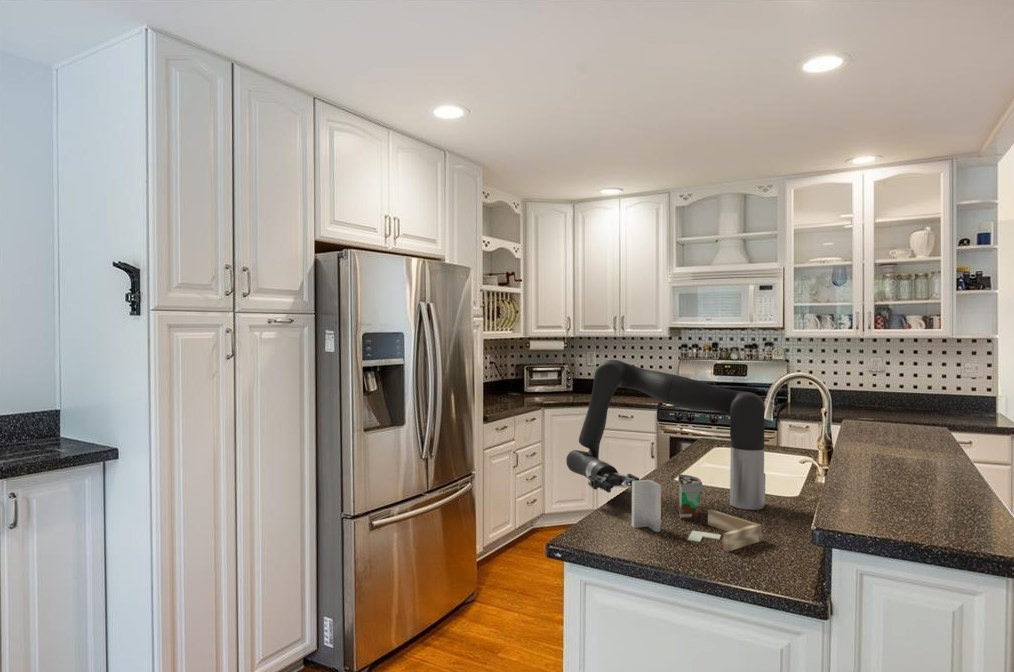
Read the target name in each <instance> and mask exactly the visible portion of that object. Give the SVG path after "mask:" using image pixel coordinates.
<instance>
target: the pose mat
mask: <svg viewBox="0 0 1014 672" xmlns="http://www.w3.org/2000/svg"><path fill="white" fill-rule="evenodd" d="M721 537H722V535H721V534H718V533H711V532H705V531H704V532H703V531H697V530H691V532H690V534H689V536H688V538H687V541H690V542H696V543H701V541H702V539H703V538H706V539H713V540H718V541H720V539H721Z"/></svg>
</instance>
